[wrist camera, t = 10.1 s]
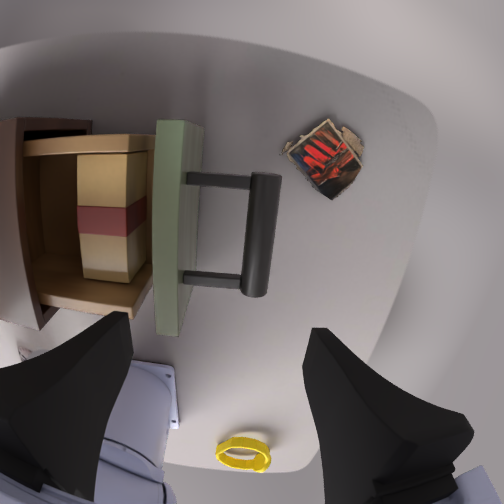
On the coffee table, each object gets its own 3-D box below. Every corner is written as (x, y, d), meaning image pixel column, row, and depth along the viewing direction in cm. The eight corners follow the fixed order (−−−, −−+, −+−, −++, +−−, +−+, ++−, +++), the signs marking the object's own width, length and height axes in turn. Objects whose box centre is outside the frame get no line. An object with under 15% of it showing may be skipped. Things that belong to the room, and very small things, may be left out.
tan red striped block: (147, 259, 19) (129, 284, 16) (105, 255, 19) (82, 278, 15) (149, 150, 17) (128, 153, 13) (103, 151, 16) (75, 154, 13)
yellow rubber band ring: (209, 443, 30) (246, 461, 31) (205, 461, 27) (244, 478, 29) (243, 426, 28) (281, 446, 29) (240, 447, 26) (281, 465, 27)
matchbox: (336, 204, 20) (338, 206, 19) (274, 161, 19) (274, 161, 18) (373, 150, 19) (376, 151, 18) (314, 104, 18) (315, 103, 17)
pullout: (275, 133, 17) (293, 129, 11) (257, 284, 21) (264, 344, 15) (41, 132, 16) (-21, 138, 10) (47, 263, 20) (-1, 303, 14)
